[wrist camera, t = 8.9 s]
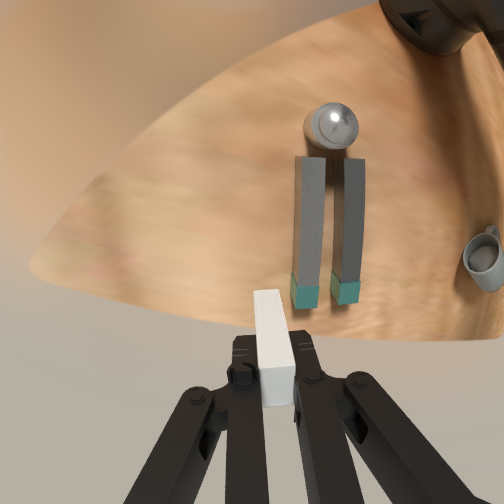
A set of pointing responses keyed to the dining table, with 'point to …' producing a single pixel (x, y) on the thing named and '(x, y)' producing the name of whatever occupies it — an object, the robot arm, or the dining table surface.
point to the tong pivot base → (343, 213)
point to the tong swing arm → (314, 207)
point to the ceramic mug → (485, 260)
